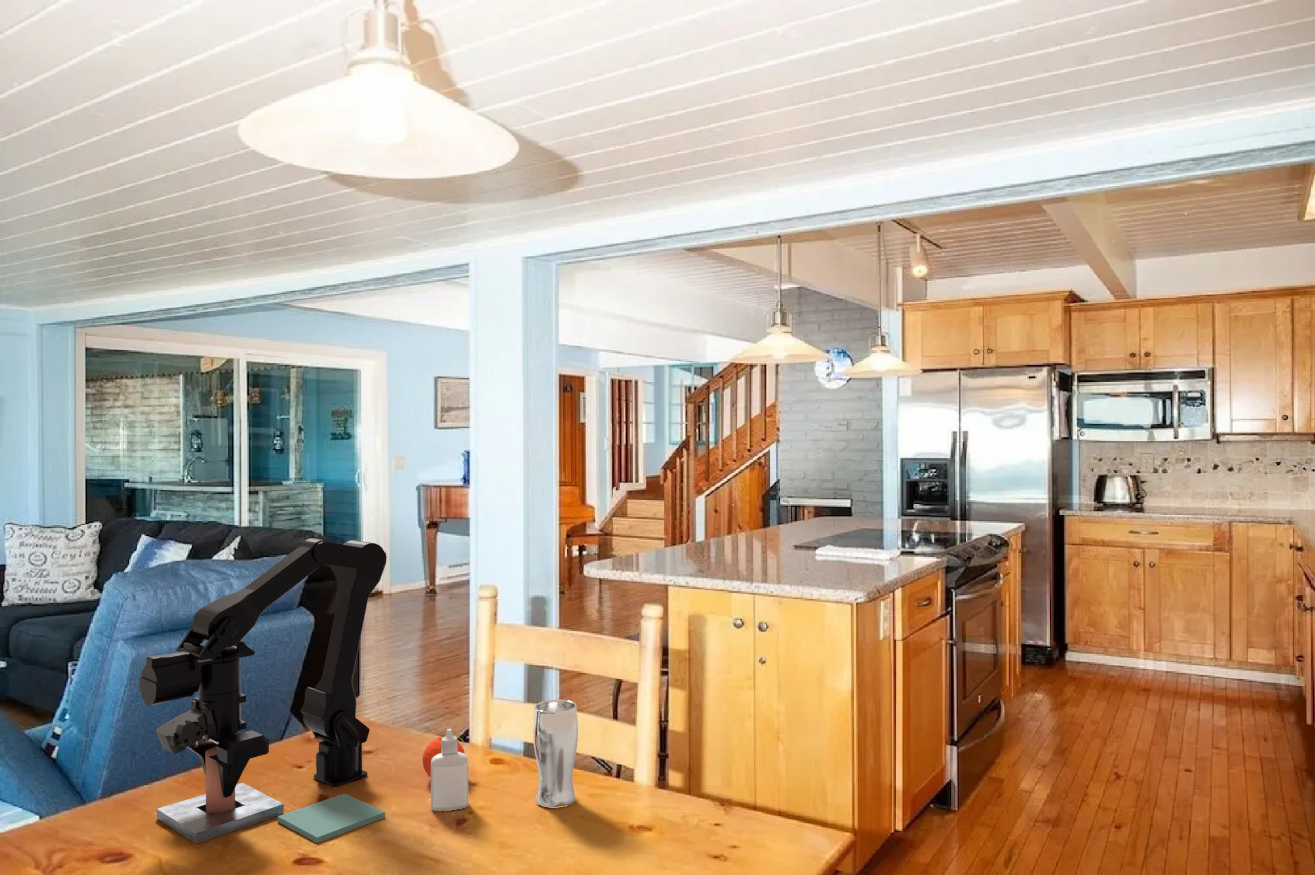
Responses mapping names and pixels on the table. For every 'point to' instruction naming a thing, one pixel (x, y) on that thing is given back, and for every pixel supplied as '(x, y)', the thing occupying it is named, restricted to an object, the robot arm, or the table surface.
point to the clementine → (435, 753)
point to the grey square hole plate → (202, 827)
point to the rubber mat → (331, 817)
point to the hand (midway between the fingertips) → (220, 793)
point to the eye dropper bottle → (449, 777)
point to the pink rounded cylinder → (215, 788)
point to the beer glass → (555, 751)
